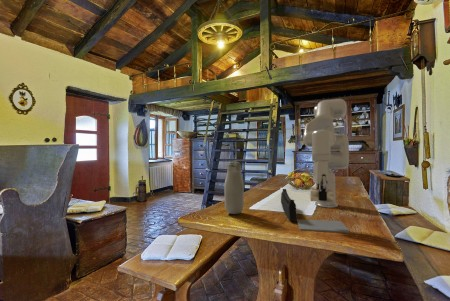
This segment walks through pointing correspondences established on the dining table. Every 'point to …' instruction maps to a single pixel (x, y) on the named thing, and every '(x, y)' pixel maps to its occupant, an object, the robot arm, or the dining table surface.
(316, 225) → the mat
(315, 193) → the card box
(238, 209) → the glass bottle
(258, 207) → the dining table surface
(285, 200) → the magazine
